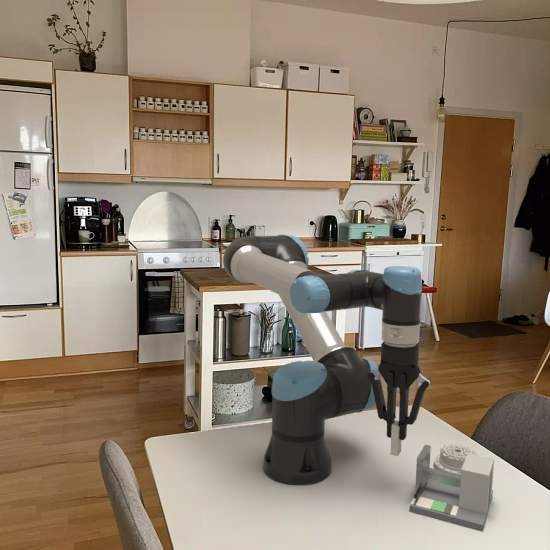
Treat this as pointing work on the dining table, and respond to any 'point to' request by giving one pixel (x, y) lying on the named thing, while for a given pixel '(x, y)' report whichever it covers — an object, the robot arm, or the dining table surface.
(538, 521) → the dining table surface
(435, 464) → the mechanical component
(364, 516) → the dining table surface
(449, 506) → the gauge base
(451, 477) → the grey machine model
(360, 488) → the dining table surface
